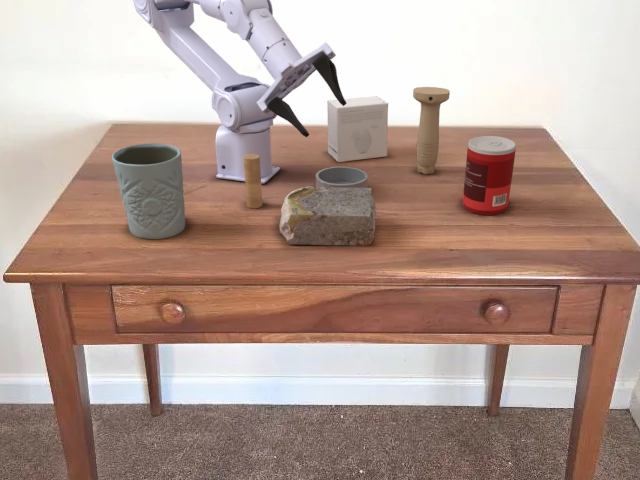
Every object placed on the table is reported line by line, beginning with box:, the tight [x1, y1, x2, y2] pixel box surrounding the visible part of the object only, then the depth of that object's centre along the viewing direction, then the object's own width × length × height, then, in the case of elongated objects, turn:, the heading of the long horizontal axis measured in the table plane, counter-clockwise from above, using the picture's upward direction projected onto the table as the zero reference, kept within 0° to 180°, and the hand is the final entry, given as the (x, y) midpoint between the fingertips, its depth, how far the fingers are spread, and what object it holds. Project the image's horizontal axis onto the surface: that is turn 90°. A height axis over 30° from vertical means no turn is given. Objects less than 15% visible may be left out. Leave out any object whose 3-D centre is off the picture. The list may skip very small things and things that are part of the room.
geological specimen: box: [278, 185, 377, 247], centre depth 115 cm, size 11×6×15 cm
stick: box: [243, 154, 263, 209], centre depth 122 cm, size 3×3×8 cm
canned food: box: [462, 135, 517, 216], centre depth 123 cm, size 8×8×11 cm
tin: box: [315, 166, 369, 189], centre depth 130 cm, size 9×9×3 cm
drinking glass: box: [111, 142, 186, 240], centre depth 114 cm, size 10×10×12 cm
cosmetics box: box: [326, 95, 389, 163], centre depth 144 cm, size 10×6×10 cm, turn 111°
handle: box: [412, 86, 451, 175], centre depth 135 cm, size 5×6×15 cm
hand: (324, 118), depth 117 cm, fingers open, 7 cm apart
